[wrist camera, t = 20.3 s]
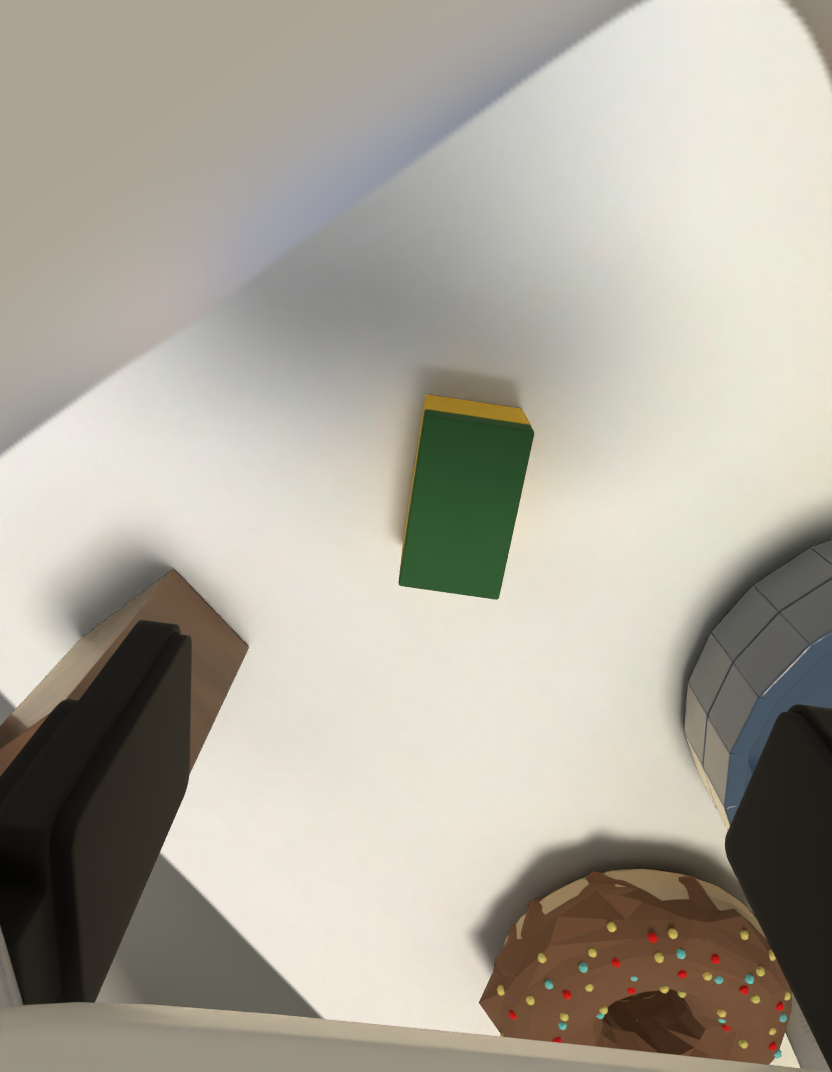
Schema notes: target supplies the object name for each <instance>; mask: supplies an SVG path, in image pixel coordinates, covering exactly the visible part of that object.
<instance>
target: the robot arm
mask: <svg viewBox="0 0 832 1072" xmlns="http://www.w3.org/2000/svg"><path fill="white" fill-rule="evenodd" d="M191 664H192V640H191V637H190V636H189V635H182V634H181V631H180V627H179V626H178V624H171V623H163V622H155V621H148V620H139V621H138V622H137V623H136V624H135V626H134V627H133V628H132V630H131V631H130V632H129V634H128V635H127V636H126V638H125V639H124V640H123V642H122V643H121V644H120V646H119V647H118V648H117V650H116V651H115V652H114V654H113V655H112V656H111V658H110V659H109V660H108V662H107V663H106V664H105V666H104V667H103V669H102V670H101V671H100V673H99V674H98V675H97V677H96V678H95V679H94V681H93V682H92V683H91V685H90V686H89V687H88V689H87V690H86V691H85V693H84V694H83V695H82V697H81V698H80V699H79V700H73V699H66V700H63V701H61V702H60V703H59V704H58V705H57V706H56V707H55V708H54V709H53V710H52V712H51V713H50V714H49V715H48V717H47V718H46V719H45V720H44V722H43V723H42V724H41V726H40V727H39V728H38V729H37V731H36V732H35V733H34V734H33V736H32V737H31V738H30V739H29V741H28V742H27V743H26V745H25V746H24V747H23V748H22V750H21V751H20V752H19V753H18V755H17V756H16V757H15V759H14V760H13V761H12V762H11V764H10V765H9V766H8V767H7V769H6V770H5V771H4V772H3V774H2V775H1V776H0V1072H828V1071H819V1070H810V1069H801V1068H792V1067H783V1066H774V1065H765V1064H756V1063H747V1062H738V1061H728V1060H719V1059H710V1058H701V1057H691V1056H682V1055H672V1054H663V1053H653V1052H644V1051H634V1050H625V1049H615V1048H606V1047H596V1046H586V1045H577V1044H567V1043H557V1042H548V1041H538V1040H528V1039H519V1038H509V1037H499V1036H489V1035H480V1034H470V1033H459V1032H449V1031H439V1030H429V1029H419V1028H409V1027H398V1026H388V1025H378V1024H368V1023H358V1022H347V1021H337V1020H327V1019H317V1018H307V1017H296V1016H286V1015H275V1014H262V1013H250V1012H237V1011H225V1010H212V1009H199V1008H187V1007H175V1006H174V1007H173V1006H162V1005H150V1004H120V1003H95V1001H96V998H97V996H98V994H99V992H100V989H101V987H102V985H103V982H104V980H105V978H106V975H107V973H108V971H109V968H110V966H111V964H112V962H113V959H114V957H115V955H116V952H117V950H118V948H119V945H120V943H121V941H122V938H123V936H124V934H125V931H126V929H127V927H128V925H129V922H130V920H131V918H132V915H133V913H134V911H135V908H136V906H137V904H138V901H139V899H140V897H141V894H142V892H143V890H144V888H145V885H146V883H147V880H148V878H149V876H150V874H151V871H152V869H153V867H154V864H155V862H156V860H157V857H158V855H159V853H160V850H161V848H162V846H163V844H164V841H165V839H166V837H167V834H168V832H169V830H170V827H171V825H172V823H173V820H174V818H175V816H176V813H177V811H178V809H179V807H180V804H181V802H182V800H183V797H184V795H185V792H186V789H187V785H188V780H189V774H190V729H191ZM725 850H726V855H727V858H728V861H729V863H730V865H731V867H732V869H733V871H734V873H735V875H736V877H737V879H738V881H739V883H740V885H741V887H742V890H743V892H744V894H745V896H746V898H747V900H748V902H749V904H750V906H751V908H752V910H753V912H754V914H755V916H756V918H757V920H758V923H759V925H760V927H761V929H762V931H763V933H764V935H765V937H766V939H767V941H768V943H769V945H770V947H771V949H772V951H773V953H774V955H775V958H776V960H777V962H778V964H779V966H780V968H781V970H782V972H783V974H784V976H785V978H786V980H787V982H788V984H789V986H790V988H791V991H792V993H793V995H794V997H795V999H796V1001H797V1003H798V1005H799V1007H800V1009H801V1011H802V1013H803V1015H804V1017H805V1019H806V1021H807V1024H808V1026H809V1028H810V1030H811V1032H812V1034H813V1036H814V1038H815V1040H816V1042H817V1044H818V1046H819V1048H820V1050H821V1052H822V1054H823V1056H824V1059H825V1061H826V1063H827V1065H828V1067H829V1069H830V1071H831V1072H832V709H831V708H825V707H817V706H809V705H801V704H797V705H793V706H792V707H791V708H789V710H788V711H787V712H782V713H781V714H780V715H779V716H778V717H777V719H776V721H775V723H774V726H773V728H772V730H771V733H770V735H769V737H768V740H767V742H766V744H765V746H764V749H763V751H762V753H761V756H760V758H759V760H758V763H757V765H756V767H755V770H754V772H753V774H752V776H751V779H750V781H749V783H748V786H747V788H746V790H745V793H744V795H743V797H742V800H741V802H740V804H739V806H738V809H737V811H736V813H735V816H734V818H733V820H732V823H731V825H730V827H729V829H728V832H727V835H726V839H725Z"/></svg>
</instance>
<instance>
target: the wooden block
mask: <svg viewBox="0 0 832 1072" xmlns="http://www.w3.org/2000/svg"><path fill="white" fill-rule="evenodd" d="M139 620H148V621H155V622H163V623H171V624H178V626H179V627H180V631H181V634H182V635H189V636H190V637H191V640H192V664H191V729H190V772H191V770H192V768H193V766H194V764H195V762H196V760H197V757H198V755H199V753H200V751H201V749H202V747H203V745H204V742H205V740H206V738H207V736H208V734H209V732H210V730H211V728H212V725H213V723H214V721H215V719H216V717H217V715H218V713H219V710H220V708H221V706H222V704H223V702H224V700H225V698H226V696H227V693H228V691H229V689H230V687H231V685H232V683H233V681H234V678H235V676H236V674H237V672H238V670H239V668H240V666H241V664H242V661H243V659H244V657H245V655H246V653H247V651H248V649H249V647H248V646H247V645H246V644H245V643H244V642H243V641H242V640H241V639H240V638H239V637H238V636H237V634H236V633H235V632H234V631H233V630H232V629H231V628H230V627H229V626H228V625H227V624H226V623H225V622H224V621H223V620H222V619H221V618H220V617H219V616H218V615H217V614H216V613H215V611H214V610H213V609H212V608H211V607H210V606H209V605H208V604H207V603H206V602H205V601H204V600H203V599H202V598H201V597H200V596H199V595H198V594H197V593H196V592H195V591H194V590H193V589H192V587H191V586H190V585H189V584H188V583H187V582H186V581H185V580H184V579H183V578H182V577H181V576H180V575H179V574H178V573H177V572H176V571H175V570H174V569H173V570H171V571H170V572H169V573H167V574H166V575H165V576H163V577H162V578H161V579H159V580H158V581H157V582H155V583H154V584H153V585H151V586H150V587H149V588H147V589H146V590H145V591H143V592H142V593H141V594H140V595H138V596H137V597H136V598H134V599H133V600H132V601H130V602H129V603H128V604H126V605H125V606H124V607H122V608H121V609H120V610H118V611H117V612H116V613H114V614H113V615H112V616H110V617H109V618H108V619H106V620H105V621H104V622H102V623H101V624H100V625H98V626H97V627H96V628H94V629H93V630H92V631H90V632H89V633H88V634H86V635H85V636H84V637H82V638H81V639H80V640H79V641H78V642H77V643H76V644H75V645H74V646H73V647H72V649H71V650H70V651H69V652H68V653H67V654H66V655H65V656H64V657H63V658H62V659H61V660H60V662H59V663H58V664H57V665H56V666H55V667H54V668H53V669H52V670H51V671H50V672H49V674H48V675H47V676H46V677H45V678H44V679H43V680H42V681H41V682H40V683H39V684H38V686H37V687H36V688H35V689H34V690H33V691H32V692H31V693H30V694H29V695H28V696H27V698H26V699H25V700H24V701H23V702H22V703H21V704H20V705H19V706H18V707H17V708H16V710H15V711H14V712H13V713H12V714H11V715H10V716H9V717H8V718H7V719H6V720H5V722H4V723H3V724H2V725H1V726H0V776H1V775H2V774H3V772H4V771H5V770H6V769H7V767H8V766H9V765H10V764H11V762H12V761H13V760H14V759H15V757H16V756H17V755H18V753H19V752H20V751H21V750H22V748H23V747H24V746H25V745H26V743H27V742H28V741H29V739H30V738H31V737H32V736H33V734H34V733H35V732H36V731H37V729H38V728H39V727H40V726H41V724H42V723H43V722H44V720H45V719H46V718H47V717H48V715H49V714H50V713H51V712H52V710H53V709H54V708H55V707H56V706H57V705H58V704H59V703H60V702H61V701H63V700H66V699H73V700H79V699H80V698H81V697H82V695H83V694H84V693H85V691H86V690H87V689H88V687H89V686H90V685H91V683H92V682H93V681H94V679H95V678H96V677H97V675H98V674H99V673H100V671H101V670H102V669H103V667H104V666H105V664H106V663H107V662H108V660H109V659H110V658H111V656H112V655H113V654H114V652H115V651H116V650H117V648H118V647H119V646H120V644H121V643H122V642H123V640H124V639H125V638H126V636H127V635H128V634H129V632H130V631H131V630H132V628H133V627H134V626H135V624H136V623H137V622H138V621H139Z"/></svg>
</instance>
